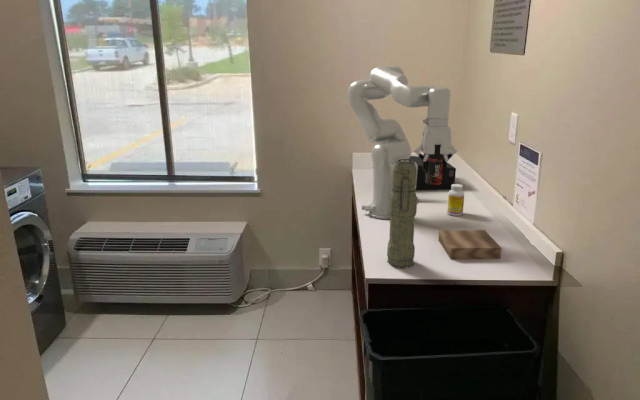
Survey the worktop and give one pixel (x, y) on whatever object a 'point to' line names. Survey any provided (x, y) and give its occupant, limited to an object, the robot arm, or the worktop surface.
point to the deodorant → (434, 167)
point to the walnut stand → (469, 244)
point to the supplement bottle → (455, 200)
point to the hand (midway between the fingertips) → (434, 170)
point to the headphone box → (447, 181)
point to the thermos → (402, 214)
